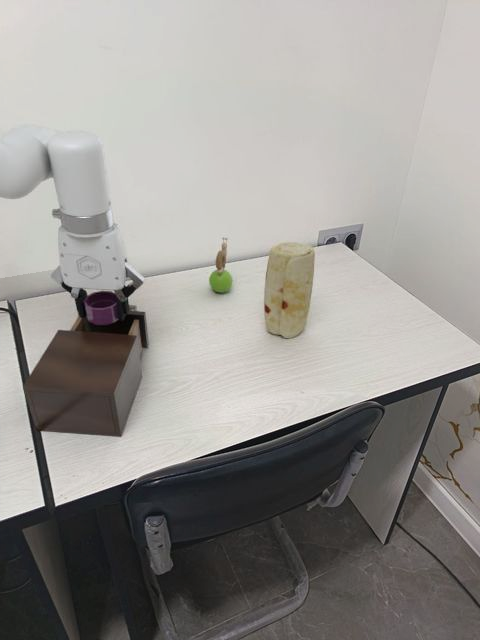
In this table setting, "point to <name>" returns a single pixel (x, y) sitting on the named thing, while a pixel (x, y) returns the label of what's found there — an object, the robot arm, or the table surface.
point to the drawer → (119, 326)
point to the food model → (288, 288)
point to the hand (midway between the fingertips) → (104, 314)
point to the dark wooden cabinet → (85, 383)
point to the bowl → (101, 307)
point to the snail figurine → (221, 272)
